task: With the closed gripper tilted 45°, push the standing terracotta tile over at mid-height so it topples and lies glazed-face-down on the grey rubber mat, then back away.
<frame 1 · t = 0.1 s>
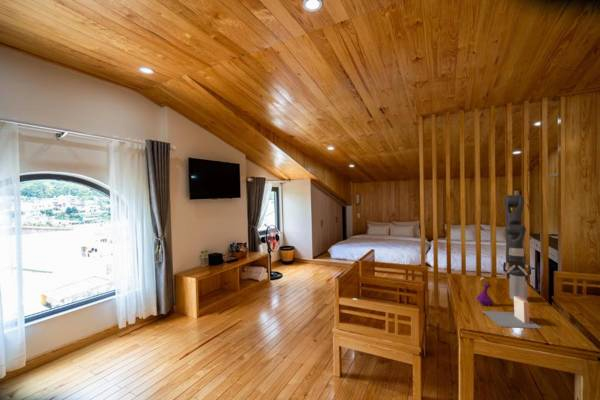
hand: (517, 279, 172), 17 cm above the table, tool pointing down, fingers open, 8 cm apart
perfume bottle: (485, 304, 176), on the table
tile: (521, 319, 152), resting on mat
mat: (510, 319, 153), on the table
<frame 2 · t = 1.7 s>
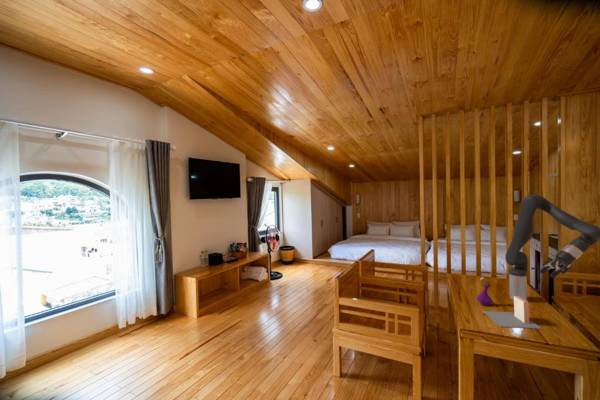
hand: (546, 274, 149), 27 cm above the table, tool tilted 45°, fingers open, 8 cm apart
nothing on the table moved.
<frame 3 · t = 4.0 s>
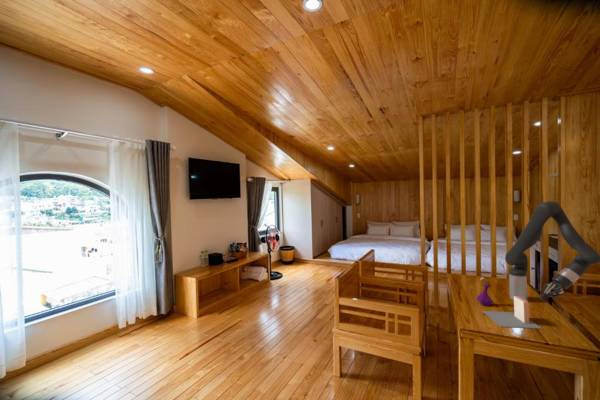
hand: (541, 299, 150), 13 cm above the table, tool tilted 45°, fingers closed
nothing on the table moved.
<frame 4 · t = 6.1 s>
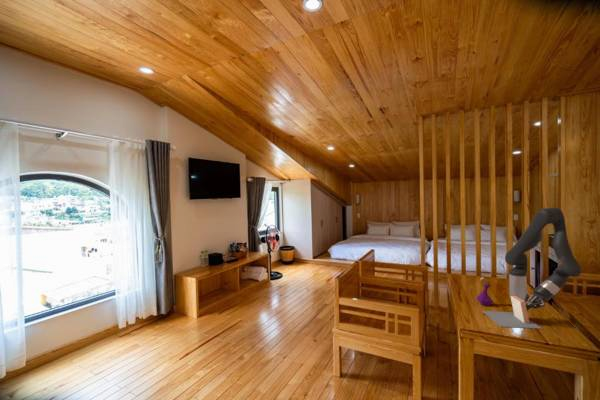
hand: (523, 310, 152), 6 cm above the table, tool tilted 45°, fingers closed
tile: (521, 319, 152), point 1 cm above the table, tilted 8°, touching mat
everything else where it was.
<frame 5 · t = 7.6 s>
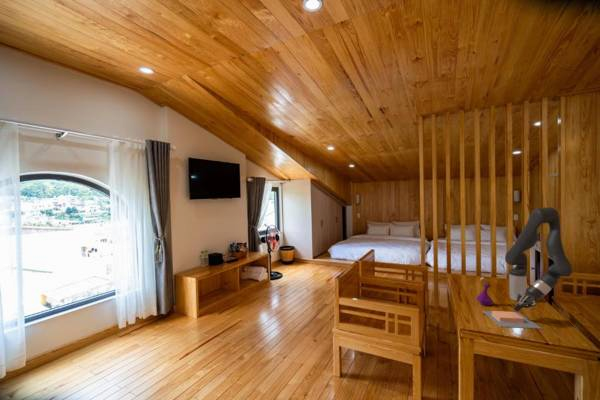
hand: (515, 309, 152), 6 cm above the table, tool tilted 45°, fingers closed
tile: (518, 317, 152), point 2 cm above the table, tilted 90°, touching mat
everything else where it was.
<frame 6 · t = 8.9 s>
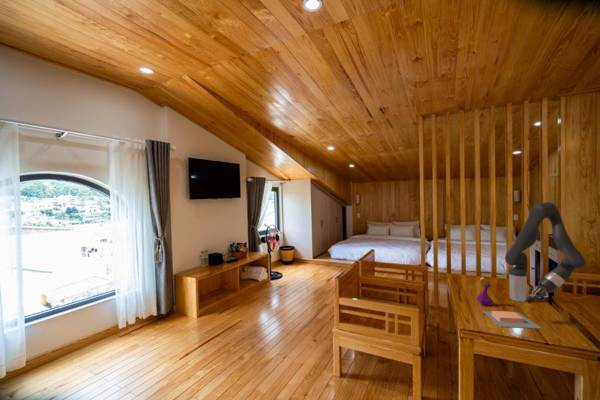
hand: (527, 302, 151), 10 cm above the table, tool tilted 45°, fingers closed
nothing on the table moved.
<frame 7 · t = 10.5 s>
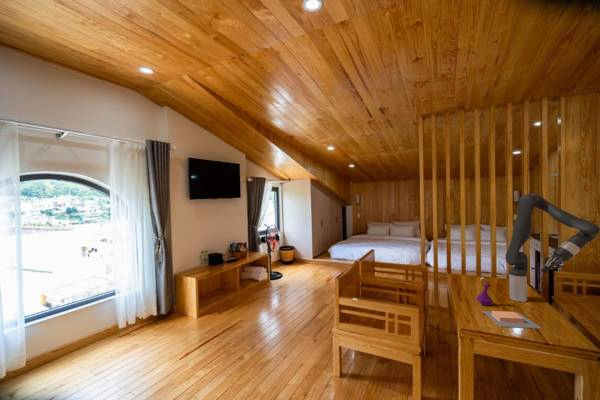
hand: (542, 271, 152), 28 cm above the table, tool tilted 45°, fingers closed
nothing on the table moved.
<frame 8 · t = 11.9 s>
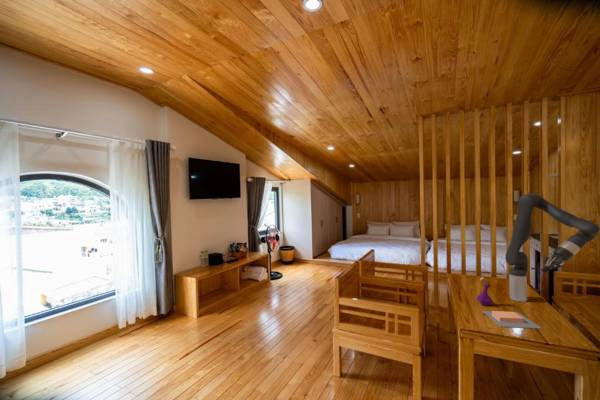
hand: (542, 271, 152), 28 cm above the table, tool tilted 45°, fingers closed
nothing on the table moved.
at the end: tile tilted 90°; tile touching mat; tile inside the target area on the mat (0.2 cm from its centre), point 1.6 cm above the mat's base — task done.
